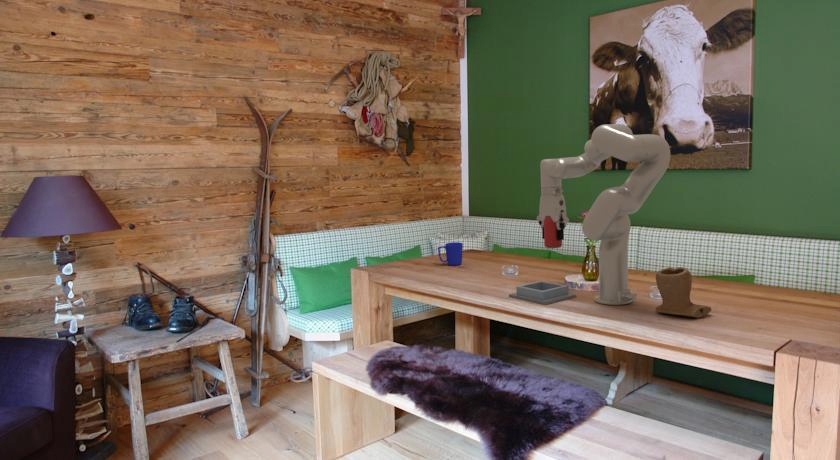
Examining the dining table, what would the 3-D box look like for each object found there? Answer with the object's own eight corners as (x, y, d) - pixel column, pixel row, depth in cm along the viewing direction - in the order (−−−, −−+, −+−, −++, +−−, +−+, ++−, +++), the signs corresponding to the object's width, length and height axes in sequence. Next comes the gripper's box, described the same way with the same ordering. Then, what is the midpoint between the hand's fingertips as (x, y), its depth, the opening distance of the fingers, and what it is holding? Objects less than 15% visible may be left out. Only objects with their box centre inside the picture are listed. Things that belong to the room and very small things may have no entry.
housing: (576, 297, 237) (576, 286, 236) (545, 305, 227) (545, 293, 227) (539, 289, 251) (539, 279, 251) (508, 296, 242) (508, 286, 241)
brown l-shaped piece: (648, 315, 209) (647, 268, 207) (666, 307, 217) (666, 262, 215) (695, 323, 198) (695, 274, 196) (712, 315, 206) (712, 267, 204)
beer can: (562, 248, 246) (561, 216, 244) (544, 248, 247) (542, 216, 246) (562, 245, 252) (561, 214, 251) (544, 246, 254) (543, 215, 252)
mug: (436, 264, 314) (435, 244, 312) (459, 262, 317) (459, 241, 316) (441, 267, 306) (440, 246, 304) (466, 265, 309) (465, 244, 308)
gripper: (576, 191, 242) (577, 239, 244) (542, 190, 256) (543, 236, 258) (561, 193, 238) (563, 242, 240) (527, 192, 252) (529, 238, 254)
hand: (553, 238), depth 249 cm, fingers closed on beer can, 6 cm apart
